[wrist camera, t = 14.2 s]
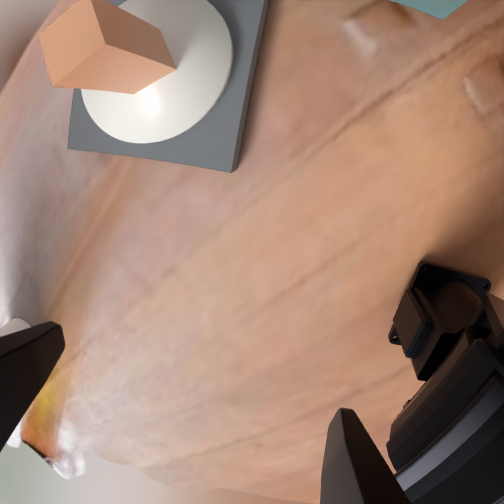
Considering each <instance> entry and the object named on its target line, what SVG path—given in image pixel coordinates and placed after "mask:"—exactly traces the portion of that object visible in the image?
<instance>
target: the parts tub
mask: <svg viewBox="0 0 504 504" xmlns="http://www.w3.org/2000/svg"><path fill="white" fill-rule="evenodd" d="M390 1H393V2H396V3H399V4H402V5H405V6H408V7H411V8H414V9H416V10H419V11H422V12H424V13H427V14H429V15H432V16H434V17H437V18H439V19H441V20H443V19H444V18H446V17H447V16H448V15H450V14H451V13H452V12H454V11H455V10H456V9H458V8H459V7H460V6H462V5H463V4H464V3H466V2H467V1H468V0H390Z"/></svg>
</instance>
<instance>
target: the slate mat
mask: <svg viewBox="0 0 504 504" xmlns="http://www.w3.org/2000/svg"><path fill="white" fill-rule="evenodd" d="M105 1H107V2H109V3H111V4H113V5H115V6H117V7H118V6H119V5H121V4H122V3H124V2H125V1H127V0H105ZM207 1H208V2H209V3H210V4H212V5H213V6H214V7H215V9H216V10H217V11H218V12H219V13H220V14H221V16H222V17H223V18H224V20H225V22H226V24H227V25H228V28H229V30H230V33H231V37H232V41H233V50H234V58H233V67H232V71H231V76H230V79H229V81H228V84H227V87H226V89H225V91H224V93H223V95H222V97H221V98H220V100H219V101H218V103H217V104H216V106H215V107H214V108H213V109H212V110H211V112H210V113H209V114H208V115H207V116H206V117H205V118H204V119H203V120H202V121H201V122H200V123H198V124H197V125H196V126H194V127H193V128H192V129H190V130H188V131H186V132H185V133H183V134H181V135H179V136H176V137H174V138H172V139H168V140H164V141H160V142H153V143H130V142H125V141H122V140H119V139H116V138H114V137H112V136H110V135H109V134H107V133H106V132H104V131H103V130H102V129H101V128H100V127H99V126H98V125H97V124H96V123H95V122H94V121H93V119H92V118H91V116H90V115H89V113H88V111H87V109H86V106H85V104H84V101H83V97H82V93H81V89H77V88H74V93H73V100H72V108H71V117H70V126H69V137H68V149H73V150H83V151H92V152H100V153H109V154H116V155H124V156H131V157H139V158H146V159H152V160H159V161H165V162H172V163H178V164H184V165H190V166H196V167H201V168H207V169H212V170H218V171H223V172H228V173H232V172H234V171H235V170H237V164H238V159H239V153H240V147H241V142H242V136H243V131H244V125H245V120H246V115H247V109H248V104H249V99H250V93H251V88H252V83H253V78H254V73H255V68H256V63H257V58H258V53H259V48H260V43H261V38H262V33H263V29H264V24H265V19H266V14H267V10H268V5H269V0H207Z"/></svg>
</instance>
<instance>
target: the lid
mask: <svg viewBox="0 0 504 504" xmlns="http://www.w3.org/2000/svg"><path fill="white" fill-rule="evenodd" d="M39 39H40V44H41V48H42V52H43V56H44V60H45V63H46V67H47V71H48V75H49V78H50V82H51V85H52V87H61V88H77V89H81V93H82V97H83V101H84V104H85V106H86V109H87V111H88V113H89V115H90V116H91V118H92V119H93V121H94V122H95V123H96V124H97V125H98V126H99V127H100V128H101V129H102V130H103V131H104V132H106V133H107V134H109V135H110V136H112V137H114V138H116V139H119V140H122V141H125V142H130V143H153V142H160V141H164V140H168V139H172V138H174V137H176V136H179V135H181V134H183V133H185V132H186V131H188V130H190V129H192V128H193V127H194V126H196V125H197V124H198V123H200V122H201V121H202V120H203V119H204V118H205V117H206V116H207V115H208V114H209V113H210V112H211V110H212V109H213V108H214V107H215V106H216V104H217V103H218V101H219V100H220V98H221V97H222V95H223V93H224V91H225V89H226V87H227V84H228V81H229V79H230V76H231V71H232V67H233V58H234V50H233V41H232V37H231V33H230V30H229V28H228V25H227V24H226V22H225V20H224V18H223V17H222V16H221V14H220V13H219V12H218V11H217V10H216V9H215V7H214V6H213V5H212V4H210V3H209V2H208V1H207V0H127V1H125V2H124V3H122V4H121V5H119V6H118V7H117V6H115V5H113V4H111V3H109V2H107V1H105V0H79V1H77V2H76V3H75V4H74V5H72V6H71V7H70V8H69V9H68V10H66V11H65V12H64V13H63V14H62V15H61V16H59V17H58V18H57V19H56V20H55V21H54V22H53V23H52V24H50V25H49V26H48V27H47V28H46V29H45V30H44V31H43V32H42V33H41V34H40V35H39Z"/></svg>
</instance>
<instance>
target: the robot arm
mask: <svg viewBox="0 0 504 504" xmlns="http://www.w3.org/2000/svg"><path fill="white" fill-rule="evenodd" d="M424 267H427V269H426V271H423V272H422V269H423V268H424ZM484 284H486V285H485V286H484ZM483 286H484V287H483ZM490 287H491V282H490V281H489V280H488V279H487V278H485V277H481V276H478V275H474V274H471V273H467V272H464V271H460V270H456V269H453V268H449V267H446V266H442V265H438V264H435V263H431V262H427V261H423V262H421V263H419V265H418V266H417V269H416V272H415V274H414V277H413V279H412V282H411V284H410V287H409V288H408V289H407V290H405V292H404V295H403V297H402V300H401V302H400V304H399V307H398V309H397V311H396V314H395V316H394V318H393V322H394V324H393V326H392V328H391V330H390V333H389V335H388V338H389V341H390V343H392V344H396V345H402V348H403V351H404V354H405V356H406V357H407V358H411V361H412V364H413V367H414V370H415V373H416V376H417V379H418V380H421V381H426V382H425V383H424V385H423V386H422V387H421V388H420V389H419V391H418V392H417V393H416V394H415V395H414V397H413V398H412V399H411V400H408V401H407V402H406V404H405V405H404V406H403V410H402V411H401V412H400V414H399V415H398V416H397V417H396V419H395V420H394V422H393V423H392V425H391V432H390V440H389V441H388V442H387V444H386V446H387V451H388V455H389V458H390V460H391V463H392V465H393V467H394V469H395V470H396V473H395V474H394V475H393V473H392V471H391V470H390V468H389V466H388V465H387V463H386V462H385V460H384V458H383V457H382V455H381V453H380V452H379V450H378V449H377V447H376V445H375V444H374V442H373V441H372V439H371V437H370V436H369V434H368V432H367V431H366V429H365V428H364V426H363V424H362V423H361V421H360V420H359V418H358V416H357V415H356V413H355V412H354V410H352V409H348V408H339V409H338V411H337V412H336V414H335V416H334V418H333V419H332V421H331V423H330V425H329V428H328V433H327V441H326V447H325V454H324V461H323V467H322V475H321V497H320V504H504V300H502V299H500V298H498V297H496V296H494V295H492V294H490V293H488V292H489V290H490ZM394 336H397V337H396V338H393V337H394ZM64 348H65V340H64V335H63V330H62V327H61V325H60V324H57V323H55V322H53V321H49V322H46V323H42V324H39V325H36V326H33V327H30V328H27V329H23V330H20V331H17V332H14V333H11V334H8V335H4V336H1V337H0V452H1V450H2V449H3V447H4V446H5V444H6V442H7V441H8V439H9V437H10V436H11V434H12V433H13V431H14V430H15V428H16V426H17V425H18V423H19V422H20V420H21V419H22V417H23V416H24V414H25V413H26V411H27V409H28V408H29V406H30V405H31V403H32V402H33V401H34V399H35V398H36V396H37V395H38V393H39V392H40V390H41V389H42V387H43V386H44V384H45V383H46V381H47V379H48V378H49V376H50V374H51V372H52V370H53V369H54V367H55V365H56V363H57V361H58V360H59V358H60V356H61V354H62V353H63V351H64Z"/></svg>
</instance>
